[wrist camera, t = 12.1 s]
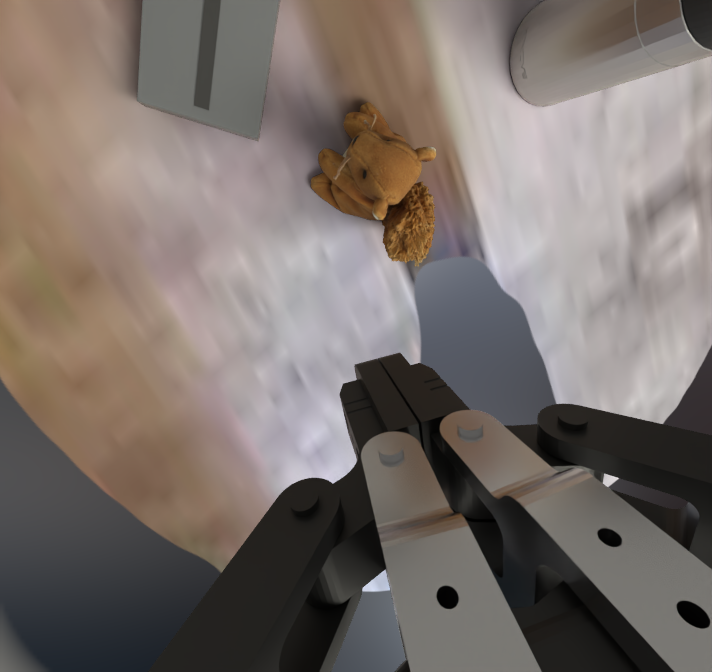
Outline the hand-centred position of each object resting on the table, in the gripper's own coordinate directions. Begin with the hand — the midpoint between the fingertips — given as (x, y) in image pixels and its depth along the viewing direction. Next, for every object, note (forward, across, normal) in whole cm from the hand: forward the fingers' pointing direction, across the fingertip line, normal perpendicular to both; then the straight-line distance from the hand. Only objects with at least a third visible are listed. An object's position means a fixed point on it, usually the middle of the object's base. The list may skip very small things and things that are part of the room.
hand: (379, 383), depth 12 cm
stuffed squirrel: (+31, -9, -5) cm, 33 cm away
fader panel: (+31, +2, -22) cm, 38 cm away
